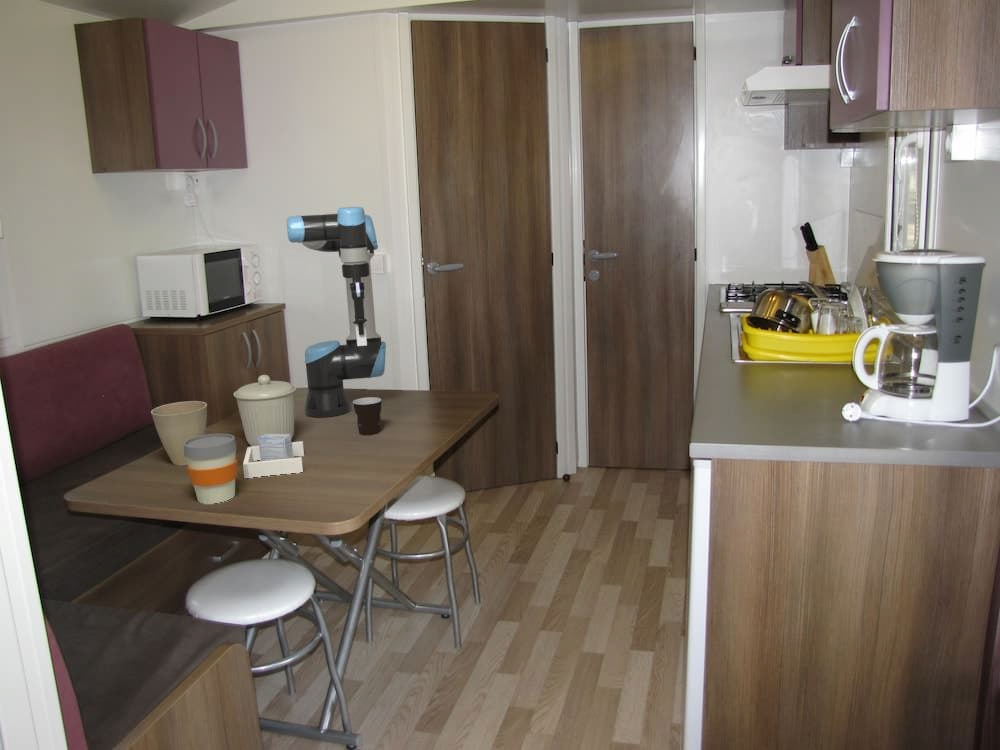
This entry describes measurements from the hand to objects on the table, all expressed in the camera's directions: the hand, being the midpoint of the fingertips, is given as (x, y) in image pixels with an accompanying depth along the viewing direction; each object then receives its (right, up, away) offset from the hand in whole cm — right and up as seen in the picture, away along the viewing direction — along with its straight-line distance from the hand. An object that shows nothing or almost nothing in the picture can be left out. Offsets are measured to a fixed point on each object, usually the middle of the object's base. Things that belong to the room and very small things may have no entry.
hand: (362, 345), depth 261 cm
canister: (-29, -29, +11) cm, 43 cm away
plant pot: (-50, -33, -2) cm, 60 cm away
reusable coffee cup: (-31, -40, -33) cm, 60 cm away
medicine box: (-22, -34, -10) cm, 42 cm away
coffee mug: (0, -26, +19) cm, 32 cm away
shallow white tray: (-22, -34, -10) cm, 41 cm away
